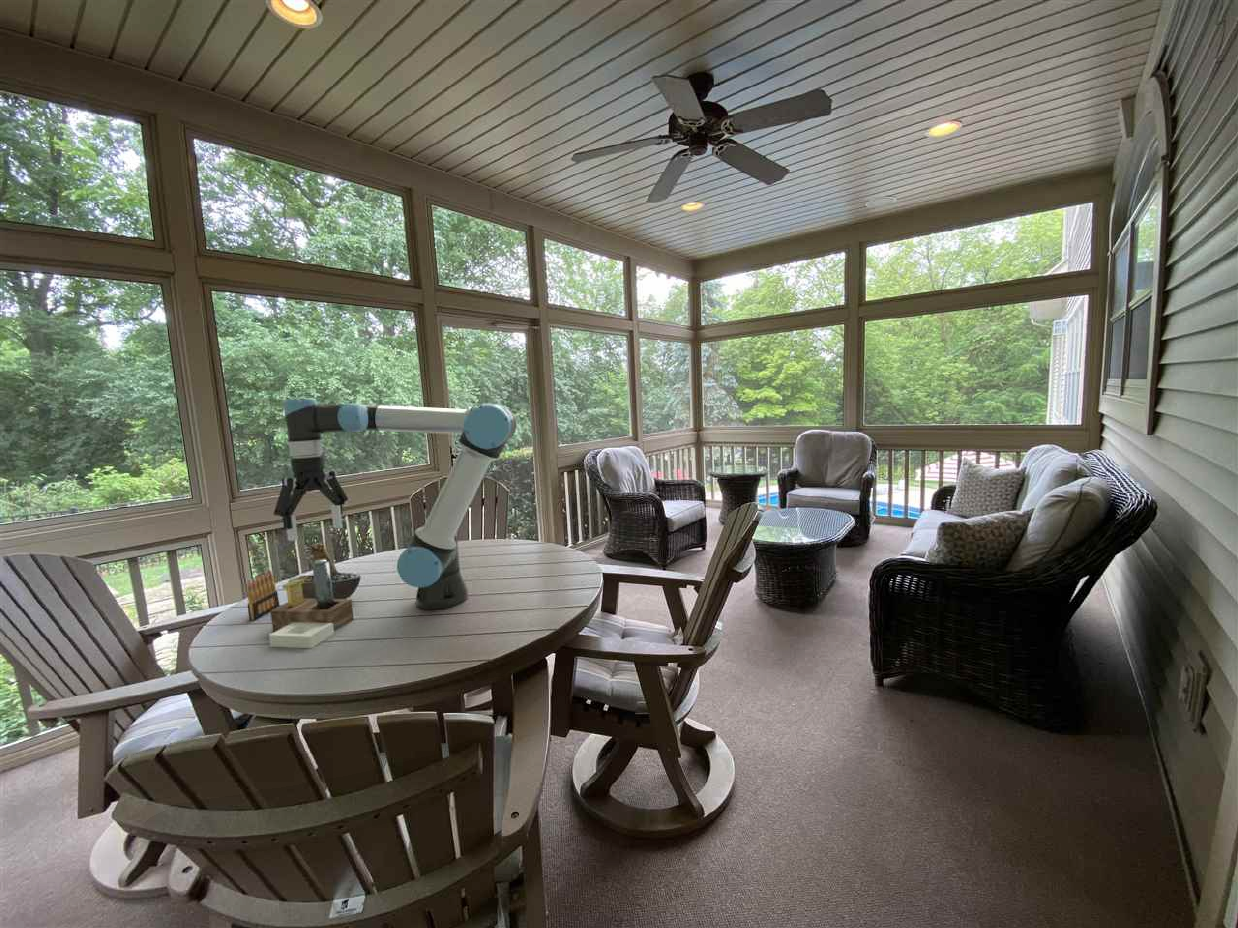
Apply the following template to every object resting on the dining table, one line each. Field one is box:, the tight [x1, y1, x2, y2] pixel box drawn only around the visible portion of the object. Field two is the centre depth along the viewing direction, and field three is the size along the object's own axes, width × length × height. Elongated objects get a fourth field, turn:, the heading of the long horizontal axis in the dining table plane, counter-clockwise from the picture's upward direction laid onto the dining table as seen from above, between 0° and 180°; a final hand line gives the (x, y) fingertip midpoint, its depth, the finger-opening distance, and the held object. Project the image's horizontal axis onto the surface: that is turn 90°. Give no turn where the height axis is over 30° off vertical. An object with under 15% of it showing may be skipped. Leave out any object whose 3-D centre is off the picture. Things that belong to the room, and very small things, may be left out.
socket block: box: [269, 598, 355, 633], centre depth 142 cm, size 18×9×6 cm, turn 80°
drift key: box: [282, 579, 305, 608], centre depth 142 cm, size 2×5×10 cm, turn 170°
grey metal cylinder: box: [312, 559, 334, 609], centre depth 140 cm, size 4×4×17 cm
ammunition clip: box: [247, 569, 280, 622], centre depth 153 cm, size 11×2×12 cm, turn 0°
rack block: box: [268, 622, 335, 649], centre depth 133 cm, size 12×8×3 cm, turn 80°
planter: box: [288, 542, 362, 599], centre depth 157 cm, size 15×17×20 cm
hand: (316, 533), depth 139 cm, fingers open, 13 cm apart
